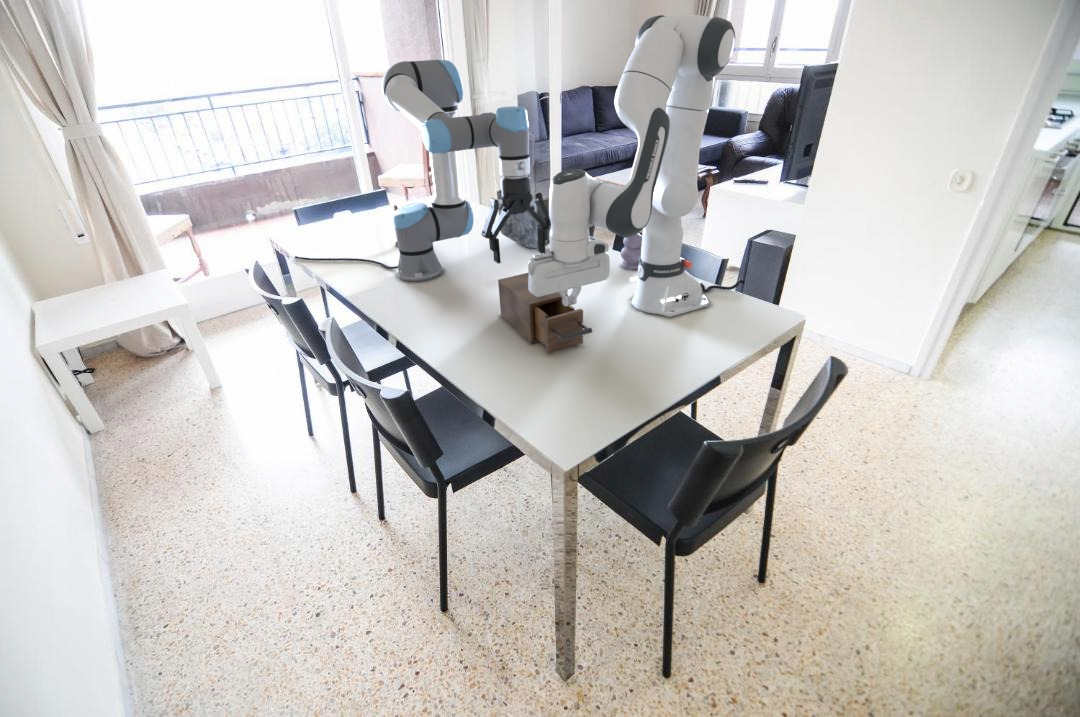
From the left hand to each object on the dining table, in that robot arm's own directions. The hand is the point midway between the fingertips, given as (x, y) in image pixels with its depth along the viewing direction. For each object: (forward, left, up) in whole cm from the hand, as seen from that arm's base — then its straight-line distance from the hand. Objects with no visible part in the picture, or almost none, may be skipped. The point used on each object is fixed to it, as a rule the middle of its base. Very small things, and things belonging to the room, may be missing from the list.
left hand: (520, 257), depth 136 cm
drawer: (+14, -12, -17) cm, 25 cm away
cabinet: (+5, -4, -18) cm, 19 cm away
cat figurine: (+22, +47, -18) cm, 55 cm away
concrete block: (-23, +59, -18) cm, 66 cm away
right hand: (+20, -17, -4) cm, 26 cm away
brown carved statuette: (-71, +48, -18) cm, 88 cm away
